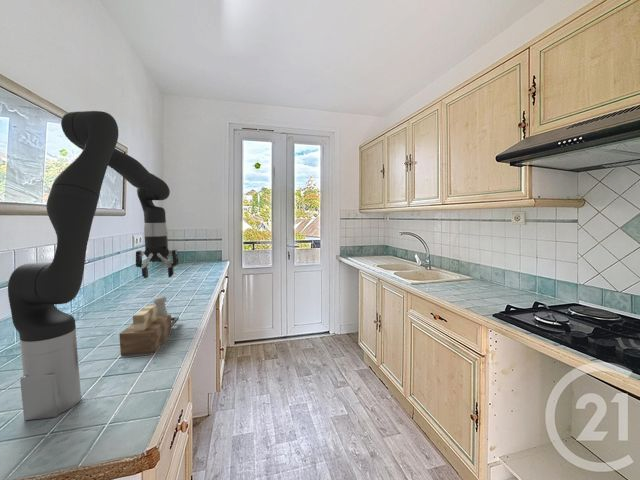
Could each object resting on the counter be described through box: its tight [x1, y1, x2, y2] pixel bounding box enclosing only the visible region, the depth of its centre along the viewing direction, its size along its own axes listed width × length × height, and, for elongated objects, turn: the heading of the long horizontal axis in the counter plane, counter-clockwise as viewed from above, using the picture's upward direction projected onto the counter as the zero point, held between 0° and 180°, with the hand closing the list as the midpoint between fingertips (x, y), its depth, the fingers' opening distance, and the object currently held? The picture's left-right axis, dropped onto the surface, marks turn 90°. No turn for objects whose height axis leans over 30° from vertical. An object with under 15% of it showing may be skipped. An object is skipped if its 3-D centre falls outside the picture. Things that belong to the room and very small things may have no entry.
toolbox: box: [119, 319, 172, 356], centre depth 100 cm, size 15×10×6 cm, turn 10°
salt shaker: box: [152, 295, 169, 315], centre depth 112 cm, size 6×6×13 cm
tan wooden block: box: [118, 304, 180, 338], centre depth 104 cm, size 25×10×10 cm, turn 10°
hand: (158, 277), depth 111 cm, fingers open, 8 cm apart
